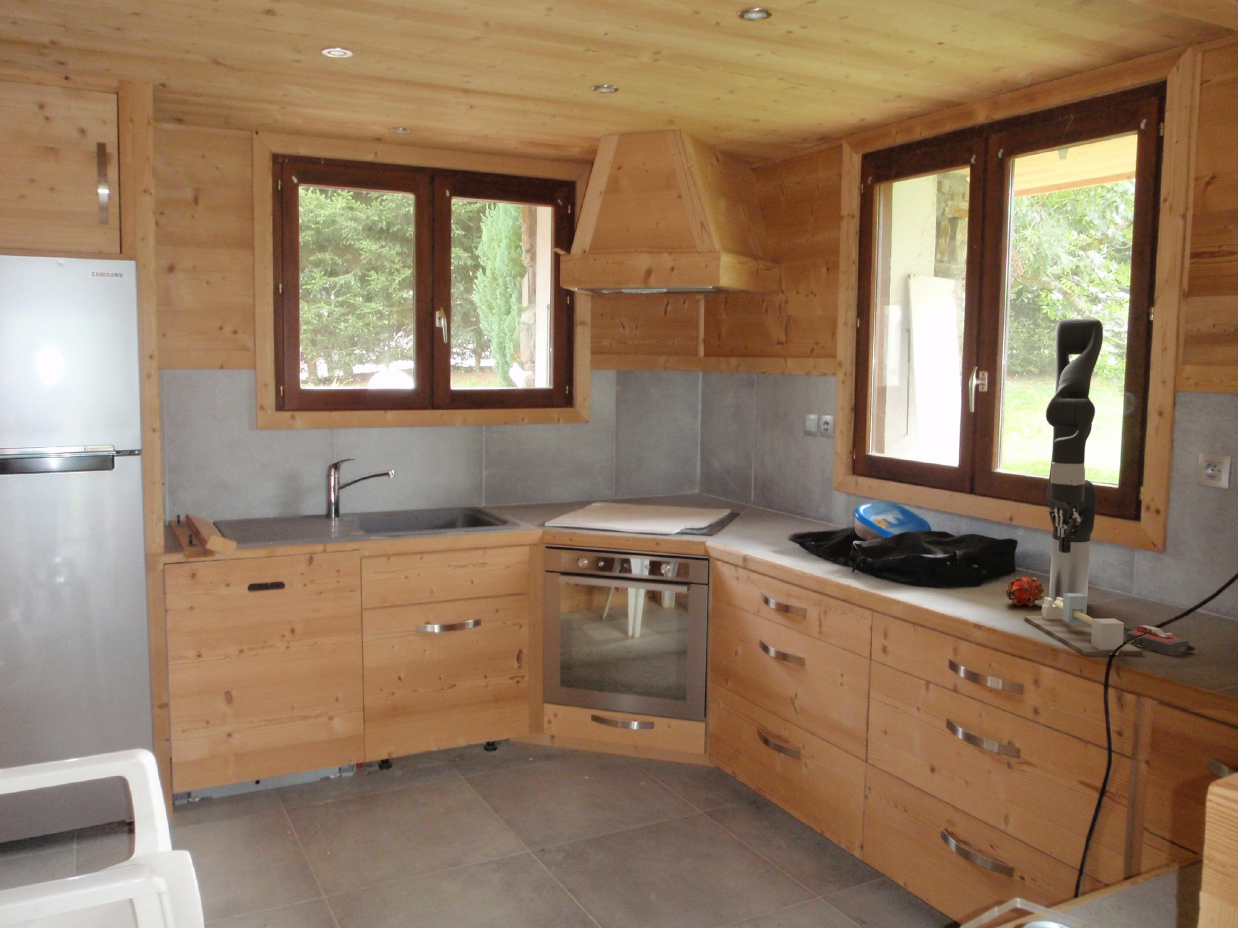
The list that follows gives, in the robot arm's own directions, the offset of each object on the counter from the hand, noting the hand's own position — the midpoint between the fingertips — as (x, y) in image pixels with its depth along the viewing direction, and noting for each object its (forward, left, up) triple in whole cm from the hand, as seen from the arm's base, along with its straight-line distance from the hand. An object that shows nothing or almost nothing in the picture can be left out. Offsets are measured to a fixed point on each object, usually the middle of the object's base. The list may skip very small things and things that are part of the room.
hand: (1064, 552), depth 241 cm
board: (+9, 0, -18) cm, 21 cm away
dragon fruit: (-21, 0, -19) cm, 28 cm away
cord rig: (+9, 0, -18) cm, 21 cm away
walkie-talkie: (+15, +13, -19) cm, 27 cm away
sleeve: (+6, 0, -15) cm, 17 cm away
